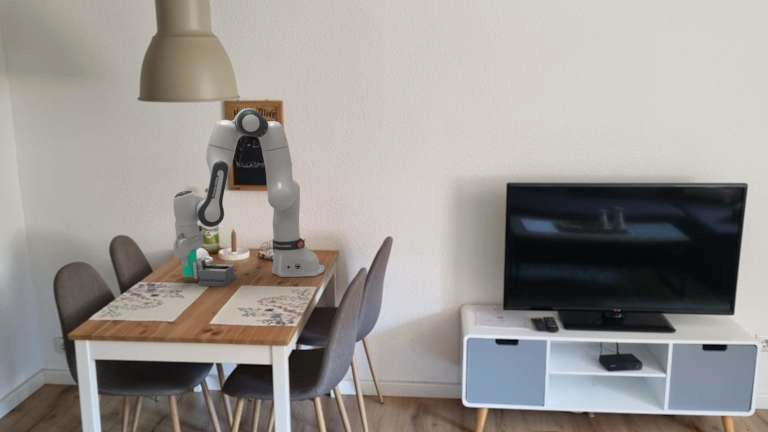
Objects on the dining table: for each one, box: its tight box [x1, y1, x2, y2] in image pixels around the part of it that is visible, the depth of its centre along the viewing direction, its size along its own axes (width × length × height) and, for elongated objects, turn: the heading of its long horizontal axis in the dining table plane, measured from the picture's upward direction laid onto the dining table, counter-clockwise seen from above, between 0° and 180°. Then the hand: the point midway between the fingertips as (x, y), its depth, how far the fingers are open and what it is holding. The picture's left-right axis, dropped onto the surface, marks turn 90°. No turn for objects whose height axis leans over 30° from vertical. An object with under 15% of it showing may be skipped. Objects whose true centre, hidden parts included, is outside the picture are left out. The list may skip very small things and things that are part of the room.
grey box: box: [198, 263, 237, 288], centre depth 305 cm, size 11×12×6 cm
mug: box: [196, 247, 214, 265], centre depth 325 cm, size 12×10×8 cm
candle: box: [181, 249, 197, 278], centre depth 306 cm, size 6×6×12 cm
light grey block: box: [193, 258, 207, 280], centre depth 306 cm, size 9×6×7 cm, turn 80°
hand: (189, 263), depth 307 cm, fingers closed on candle, 5 cm apart
